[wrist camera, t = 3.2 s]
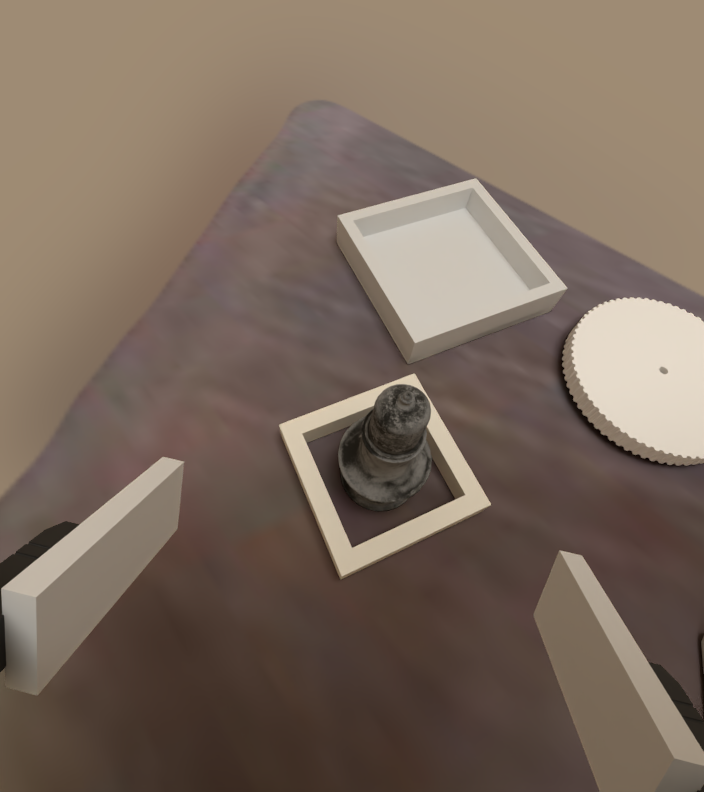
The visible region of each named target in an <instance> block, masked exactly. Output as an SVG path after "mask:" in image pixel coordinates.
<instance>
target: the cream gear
mask: <svg viewBox="0 0 704 792" xmlns="http://www.w3.org/2000/svg"><path fill="white" fill-rule="evenodd" d="M565 342H566V344H565V345H564V348H565V349H564V350H563V352H562V354H564V356H563V357H562V360H563V361H564V362H563V363H562V367H564V370H563V374H565V377H564V379H565V381H567V384H566V386H567V388H570V391H569V393H570V395H573V397H574V398H573V401H574V402H577V404H578V405H577V407H578V409H581V410H582V411H583V412H582V414H583V415H584V416H587V417H588V421H589V422H590V423H591V422H592V423H593V424H594V427H595V428H596V429H599V430H600V431H601V434H602V435H606V436H608V439H609V440H610V441H612V440H613V441H615V442H616V445H618V446H620V445H621V446H623V447H624V450H626V451H628V450H630V451H632V454H634V455H637V454H639V455H640V456H641V458H644V459H645V458H649V460H650V461H655V460H657V461H658V462H659V463H661V464H662V463H665V462H666V463H667V464H668V465H672V464H674V463H675V465H676V466H680V465H682V464H684V466H688V465H690V464H692V465H696V464H698V463H700V464H702V463H704V322H703V321H701V318H699V317H695V316H694V314H692V313H687V312H686V310H684V309H682V310H681V309H679V307H677V306H675V307H673V306H671V304H669V303H667V304H664V302H662V301H659V302H657V301H656V300H654V299H652V300H649V299H648V298H645V299H641V298H637V299H634V298H633V297H630V298H629V299H627V298H623V299H622V300H620V299H619V298H618V299H616V300H615V301H614V300H610V301H609V302H604V303H603V304H599V305H598V306H597V307H594V308H593V309H592V310H590V311H588V313H587V314H585V315H584V316H583V318H582V319H581V320H580V321H579V322H578V323H577V325H576V326H575V327H574V328H573V329H572V331H571V333H570V334H569V335H568V338H567V339H566V341H565Z"/></svg>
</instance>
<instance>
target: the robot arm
mask: <svg viewBox="0 0 704 792" xmlns="http://www.w3.org/2000/svg"><path fill="white" fill-rule="evenodd" d="M183 468H184V462H183V461H179V460H174V459H170V458H166V457H162V458H161V459H160V460H159V461H157V462H156V463H155V464H154V465H152V466H151V467H150V468H149V469H147V470H146V471H145V472H144V473H143V474H141V475H140V476H139V477H138V478H136V479H135V480H134V481H133V482H131V483H130V484H129V485H128V486H127V487H125V488H124V489H123V490H122V491H120V492H119V493H118V494H117V495H116V496H114V497H113V498H112V499H111V500H109V501H108V502H107V503H106V504H104V505H103V506H102V507H101V508H100V509H98V510H97V511H96V512H95V513H93V514H92V515H91V516H90V517H88V518H87V519H86V520H85V521H84V522H82V523H81V524H80V525H79V524H75V523H71V522H67V521H65V522H63V523H60V524H58V525H56V526H53V527H51V528H48V529H46V530H44V531H43V532H42V533H40V534H39V535H38V536H36V537H35V538H34V539H32V540H31V541H30V542H29V544H28V545H27V544H26V545H24V546H23V547H22V548H20V549H19V550H18V551H16V553H15V555H14V554H12V555H11V556H10V557H8V558H7V559H6V560H4V561H3V562H2V563H0V672H1V671H2V670H3V669H4V668H5V687H7V688H10V689H14V690H18V691H22V692H26V693H30V694H33V695H38V694H39V693H40V692H41V691H42V690H43V688H44V687H45V686H46V685H47V684H48V682H49V681H50V680H51V679H52V678H53V676H54V675H55V674H56V673H57V672H58V671H59V669H60V668H61V667H62V666H63V665H64V663H65V662H66V661H67V660H68V659H69V657H70V656H71V655H72V654H73V653H74V651H75V650H76V649H77V648H78V647H79V646H80V644H81V643H82V642H83V641H84V640H85V638H86V637H87V636H88V635H89V634H90V632H91V631H92V630H93V629H94V628H95V626H96V625H97V624H98V623H99V622H100V621H101V619H102V618H103V617H104V616H105V615H106V613H107V612H108V611H109V610H110V609H111V607H112V606H113V605H114V604H115V603H116V602H117V600H118V599H119V598H120V597H121V596H122V594H123V593H124V592H125V591H126V590H127V588H128V587H129V586H130V585H131V584H132V582H133V581H134V580H135V579H136V578H137V577H138V575H139V574H140V573H141V572H142V571H143V569H144V568H145V567H146V566H147V565H148V563H149V562H150V561H151V560H152V559H153V558H154V556H155V555H156V554H157V553H158V552H159V550H160V549H161V548H162V547H163V546H164V544H165V543H166V542H167V541H168V540H169V538H170V537H171V536H172V535H173V534H174V533H175V531H176V530H177V529H178V519H179V509H180V499H181V489H182V478H183ZM533 616H534V619H535V621H536V624H537V627H538V629H539V632H540V635H541V637H542V640H543V643H544V645H545V648H546V651H547V653H548V656H549V658H550V661H551V664H552V666H553V669H554V672H555V674H556V677H557V680H558V682H559V685H560V688H561V690H562V693H563V696H564V698H565V701H566V704H567V706H568V709H569V712H570V714H571V717H572V720H573V722H574V725H575V728H576V730H577V733H578V736H579V738H580V741H581V744H582V746H583V749H584V751H585V754H586V757H587V759H588V762H589V765H590V767H591V770H592V773H593V775H594V778H595V781H596V783H597V786H598V789H599V791H600V792H704V721H703V719H702V718H701V716H700V715H699V713H698V712H697V710H696V708H693V704H692V702H691V701H690V699H689V698H688V696H687V695H686V693H685V692H684V690H683V689H682V687H681V686H680V684H679V683H678V682H677V681H676V680H675V679H674V678H673V677H672V676H671V675H670V674H669V673H668V672H667V671H666V670H665V669H664V668H663V667H662V666H661V665H658V664H653V663H649V662H648V661H647V660H646V658H645V656H644V655H643V653H642V651H641V650H640V648H639V647H638V645H637V643H636V642H635V640H634V639H633V637H632V635H631V634H630V632H629V631H628V629H627V627H626V626H625V624H624V622H623V621H622V619H621V618H620V616H619V614H618V613H617V611H616V610H615V608H614V606H613V605H612V603H611V601H610V600H609V598H608V597H607V595H606V593H605V592H604V590H603V589H602V587H601V585H600V584H599V582H598V581H597V579H596V577H595V576H594V574H593V572H592V571H591V569H590V568H589V566H588V564H587V563H586V561H585V560H584V558H583V556H581V555H577V554H573V553H569V552H564V551H560V550H559V552H558V555H557V557H556V560H555V562H554V565H553V567H552V570H551V572H550V575H549V577H548V580H547V582H546V585H545V587H544V590H543V592H542V594H541V597H540V599H539V602H538V604H537V607H536V609H535V612H534V614H533Z"/></svg>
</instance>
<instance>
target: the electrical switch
mask: <svg viewBox="0 0 704 792" xmlns="http://www.w3.org/2000/svg"><path fill="white" fill-rule="evenodd" d="M701 646H702V659H703V672H704V636H703V639H702V641H701Z"/></svg>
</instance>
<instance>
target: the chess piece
mask: <svg viewBox="0 0 704 792" xmlns="http://www.w3.org/2000/svg"><path fill="white" fill-rule="evenodd" d="M430 416H431V407H430V402H429V400H428V398H427V397H426V395H425V394H424V393H423V392H422V391H421V390H419V389H418V388H416V387H414V386H411V385H406V384H396V385H393V386H390V387H388V388H386V389H385V390H383V392H382V393H381V394H380V395H379V396H378V397H377V399H376V401H375V404H374V408H373V409H372V410H371V411H370V412H369V413H368V414H367V415H366V416H365V417H362V418H361V419H359V420H358V421H356V422H354V423H353V424H352V425H351V426H350V427H349V428H348V429H347V430H346V432H345V433H344V435H343V437H342V439H341V441H340V446H339V451H338V459H339V467H340V469H341V481H342V484H343V487H344V489H345V491H346V492H347V494H348V495H349V497H350V498H351V499H352V500H353V501H354V502H356V503H357V504H358V505H360V506H362V507H364V508H366V509H368V510H373V511H389V510H391V509H394V508H397V507H399V506H400V505H401V504H403V503H404V502H406V500H407V499H408V498H410V497H411V496H413V495H414V494H415V493H417V492H418V491H419V490H420V489H421V488H422V486H423V485H424V484H425V482H426V481H427V479H428V476H429V474H430V471H431V463H432V456H431V451H430V446H429V444H428V442H427V440H426V438H427V431H426V427H427V425H428V423H429V420H430Z"/></svg>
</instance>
